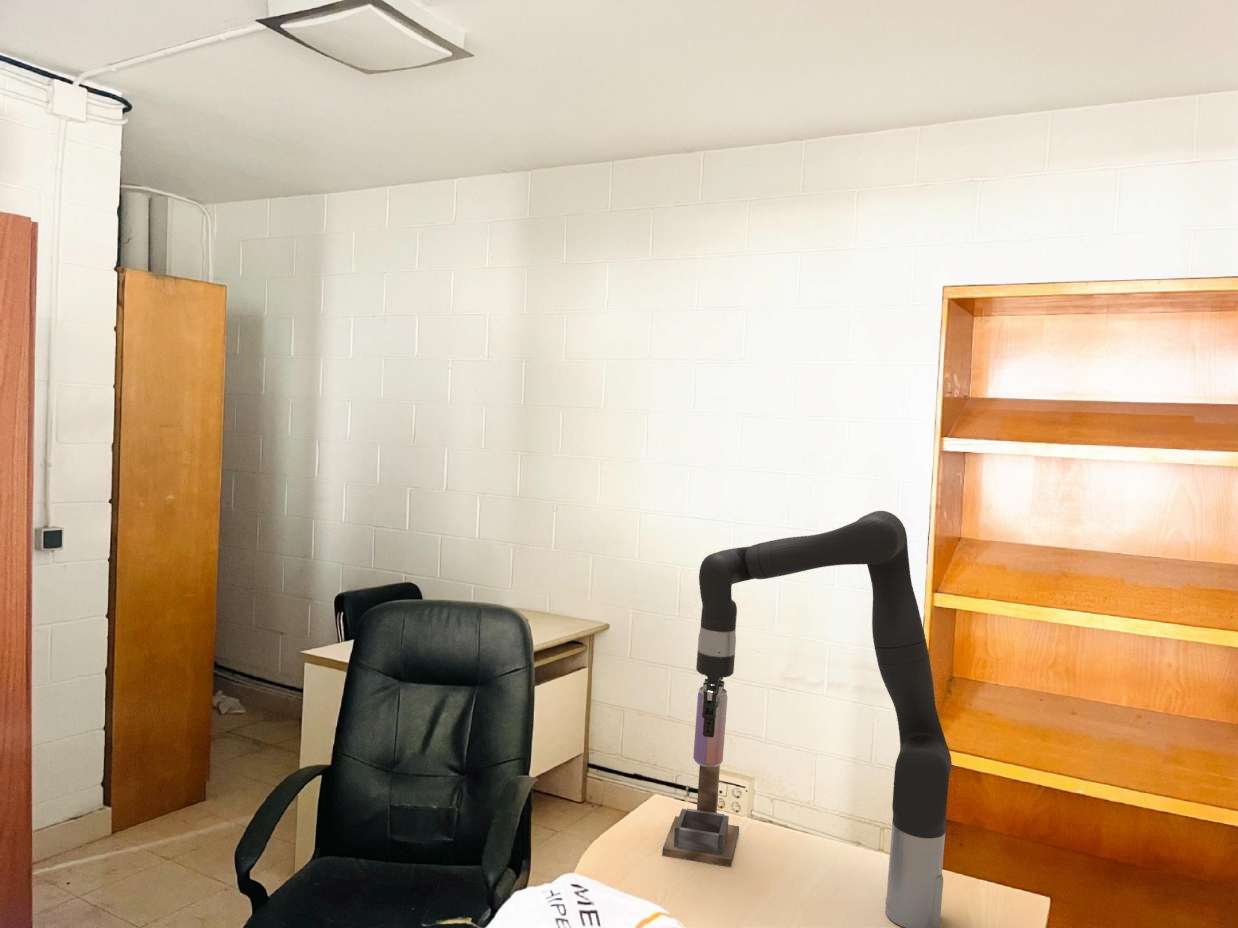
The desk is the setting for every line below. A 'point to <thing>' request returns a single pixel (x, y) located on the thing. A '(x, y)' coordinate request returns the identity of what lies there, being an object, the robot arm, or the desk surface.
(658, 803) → the desk surface
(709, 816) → the post holder
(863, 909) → the desk surface
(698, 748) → the beverage can
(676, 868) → the desk surface
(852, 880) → the desk surface
